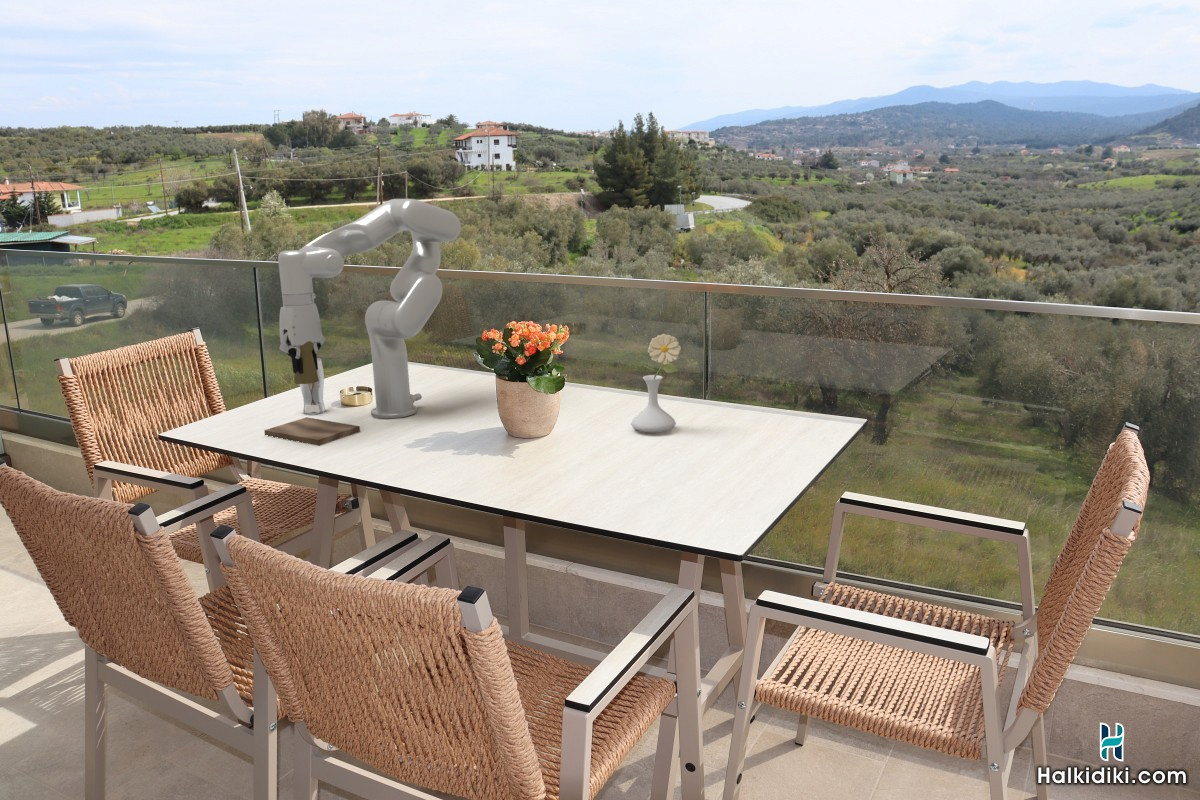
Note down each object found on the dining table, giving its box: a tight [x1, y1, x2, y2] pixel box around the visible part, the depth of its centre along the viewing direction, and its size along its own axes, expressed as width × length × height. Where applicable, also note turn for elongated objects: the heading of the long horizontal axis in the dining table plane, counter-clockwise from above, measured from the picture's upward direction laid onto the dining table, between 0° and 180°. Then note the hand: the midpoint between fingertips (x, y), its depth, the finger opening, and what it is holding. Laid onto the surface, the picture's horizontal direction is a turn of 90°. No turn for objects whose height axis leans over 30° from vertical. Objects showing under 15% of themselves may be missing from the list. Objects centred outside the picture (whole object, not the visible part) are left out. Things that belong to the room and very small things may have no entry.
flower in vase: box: [630, 333, 682, 433], centre depth 229 cm, size 13×11×25 cm
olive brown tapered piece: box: [293, 341, 319, 385], centre depth 233 cm, size 6×6×11 cm
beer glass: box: [298, 357, 327, 415], centre depth 258 cm, size 7×7×15 cm
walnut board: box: [264, 417, 361, 446], centre depth 237 cm, size 14×20×2 cm
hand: (305, 370), depth 233 cm, fingers closed on olive brown tapered piece, 4 cm apart
